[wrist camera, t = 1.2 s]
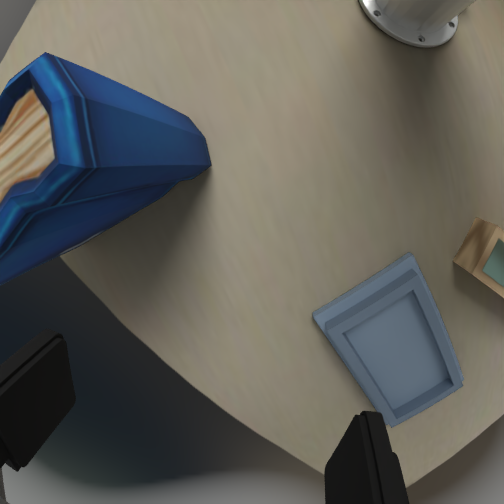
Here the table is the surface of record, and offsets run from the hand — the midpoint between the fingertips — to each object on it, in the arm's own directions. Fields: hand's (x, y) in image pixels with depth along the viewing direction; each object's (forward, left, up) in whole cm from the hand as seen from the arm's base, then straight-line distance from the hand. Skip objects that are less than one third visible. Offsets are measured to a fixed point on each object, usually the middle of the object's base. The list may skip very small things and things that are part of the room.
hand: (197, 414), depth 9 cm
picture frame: (-23, +20, -27) cm, 40 cm away
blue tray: (-6, +22, -26) cm, 35 cm away
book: (+9, -13, -27) cm, 31 cm away
